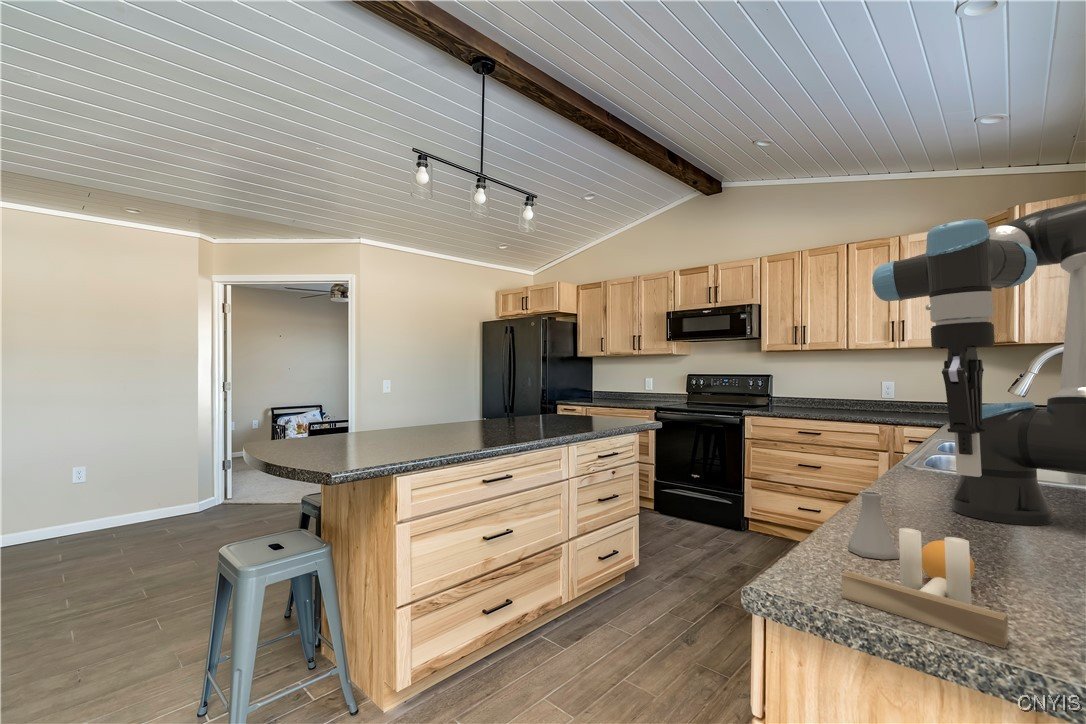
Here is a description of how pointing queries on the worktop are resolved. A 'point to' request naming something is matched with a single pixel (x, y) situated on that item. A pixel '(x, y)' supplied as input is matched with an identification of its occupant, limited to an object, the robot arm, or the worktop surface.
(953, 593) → the pin
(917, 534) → the pin
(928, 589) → the pin front
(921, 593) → the back wall
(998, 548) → the worktop surface
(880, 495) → the flask
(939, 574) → the ball
